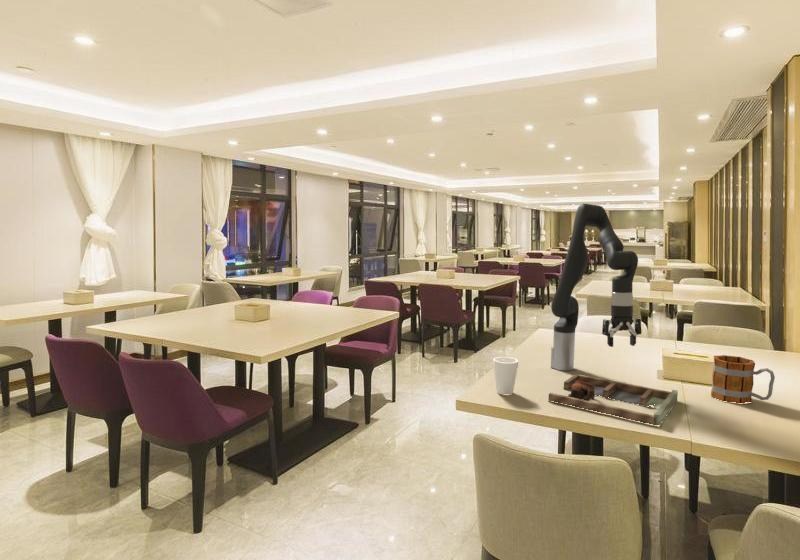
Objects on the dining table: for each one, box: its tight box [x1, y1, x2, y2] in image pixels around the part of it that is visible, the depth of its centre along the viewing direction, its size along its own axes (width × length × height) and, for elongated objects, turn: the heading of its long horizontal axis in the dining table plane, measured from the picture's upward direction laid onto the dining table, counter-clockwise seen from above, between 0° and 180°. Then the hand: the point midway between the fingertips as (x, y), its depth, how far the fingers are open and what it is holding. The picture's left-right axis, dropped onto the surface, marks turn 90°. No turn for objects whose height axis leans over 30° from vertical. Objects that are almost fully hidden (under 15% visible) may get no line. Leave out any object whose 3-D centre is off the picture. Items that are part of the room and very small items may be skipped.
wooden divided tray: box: [548, 374, 678, 426], centre depth 180 cm, size 38×31×4 cm
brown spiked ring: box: [567, 380, 596, 401], centre depth 181 cm, size 12×10×8 cm
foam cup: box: [492, 356, 519, 395], centre depth 189 cm, size 10×9×13 cm
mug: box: [710, 354, 776, 403], centre depth 182 cm, size 20×14×15 cm
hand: (621, 345), depth 186 cm, fingers open, 8 cm apart
